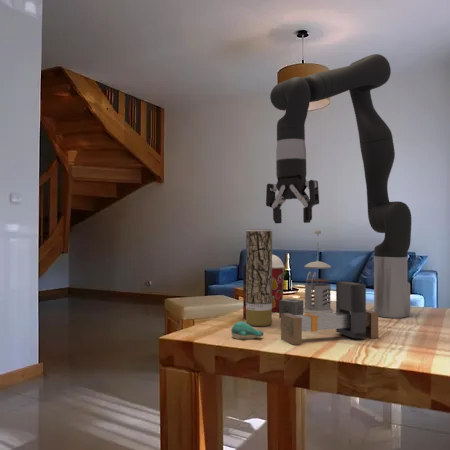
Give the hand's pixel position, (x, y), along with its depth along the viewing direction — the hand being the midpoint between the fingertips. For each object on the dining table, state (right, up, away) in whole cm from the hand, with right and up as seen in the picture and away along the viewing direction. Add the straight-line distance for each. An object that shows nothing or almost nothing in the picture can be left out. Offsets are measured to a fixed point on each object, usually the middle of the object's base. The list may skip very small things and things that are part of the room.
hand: (292, 223), depth 120 cm
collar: (+12, -27, -9) cm, 31 cm away
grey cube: (+2, -27, +15) cm, 31 cm away
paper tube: (-8, -27, +5) cm, 28 cm away
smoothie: (-3, -27, +26) cm, 37 cm away
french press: (+11, -27, +25) cm, 39 cm away
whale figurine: (-12, -27, -11) cm, 31 cm away
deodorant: (-9, -27, +13) cm, 31 cm away
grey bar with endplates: (+7, -27, -11) cm, 30 cm away
